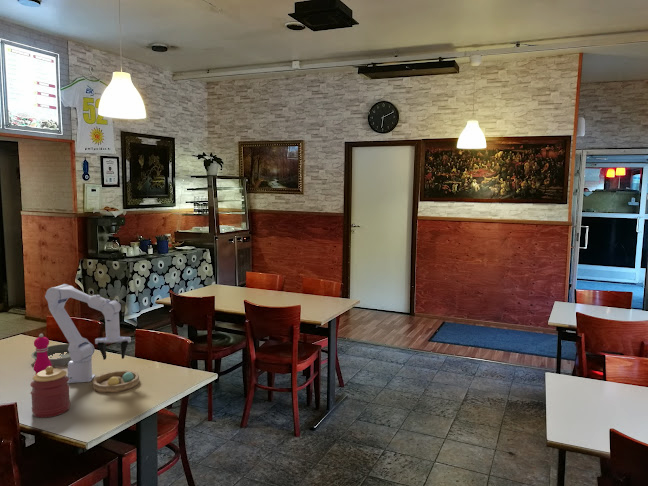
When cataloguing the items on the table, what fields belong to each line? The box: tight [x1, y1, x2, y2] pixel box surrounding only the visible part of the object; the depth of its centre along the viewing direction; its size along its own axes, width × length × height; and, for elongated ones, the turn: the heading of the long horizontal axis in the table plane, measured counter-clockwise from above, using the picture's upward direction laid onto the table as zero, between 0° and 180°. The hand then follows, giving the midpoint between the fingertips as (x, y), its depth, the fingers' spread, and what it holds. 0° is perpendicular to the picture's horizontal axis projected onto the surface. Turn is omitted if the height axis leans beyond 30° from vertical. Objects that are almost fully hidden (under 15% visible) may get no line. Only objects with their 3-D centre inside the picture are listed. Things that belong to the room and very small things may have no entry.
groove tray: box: [92, 370, 140, 394], centre depth 216 cm, size 18×18×3 cm
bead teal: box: [123, 372, 134, 383], centre depth 216 cm, size 5×5×5 cm
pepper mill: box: [33, 333, 53, 375], centre depth 223 cm, size 7×7×20 cm
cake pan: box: [31, 343, 79, 367], centre depth 247 cm, size 25×25×4 cm
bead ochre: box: [108, 377, 119, 385], centre depth 211 cm, size 5×5×5 cm
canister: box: [30, 366, 71, 418], centre depth 189 cm, size 13×13×18 cm
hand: (114, 358), depth 219 cm, fingers open, 7 cm apart
